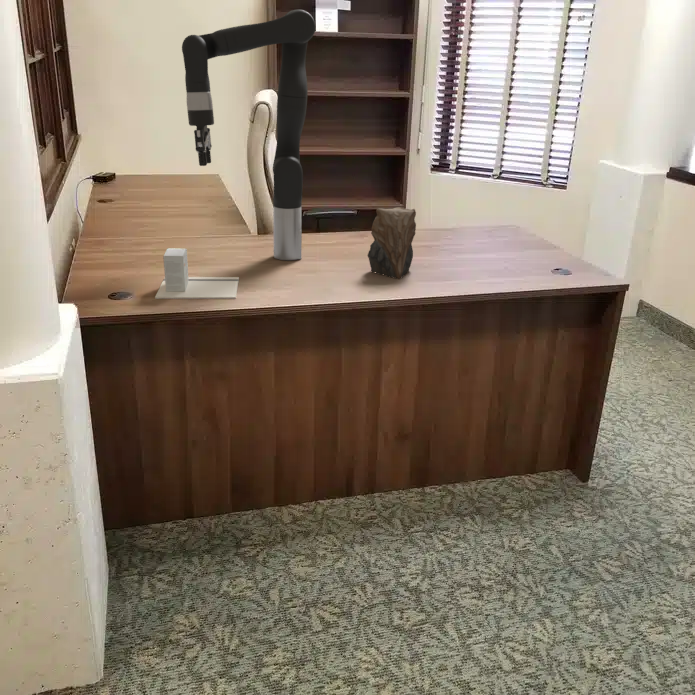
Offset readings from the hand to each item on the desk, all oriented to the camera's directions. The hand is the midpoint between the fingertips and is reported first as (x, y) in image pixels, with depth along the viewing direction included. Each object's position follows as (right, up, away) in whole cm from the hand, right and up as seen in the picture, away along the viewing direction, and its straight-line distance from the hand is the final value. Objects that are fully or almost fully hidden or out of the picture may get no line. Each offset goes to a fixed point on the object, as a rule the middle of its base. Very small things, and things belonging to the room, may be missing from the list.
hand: (205, 164), depth 210 cm
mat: (+1, -39, -12) cm, 41 cm away
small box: (-5, -39, -13) cm, 42 cm away
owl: (+58, -33, +9) cm, 67 cm away
